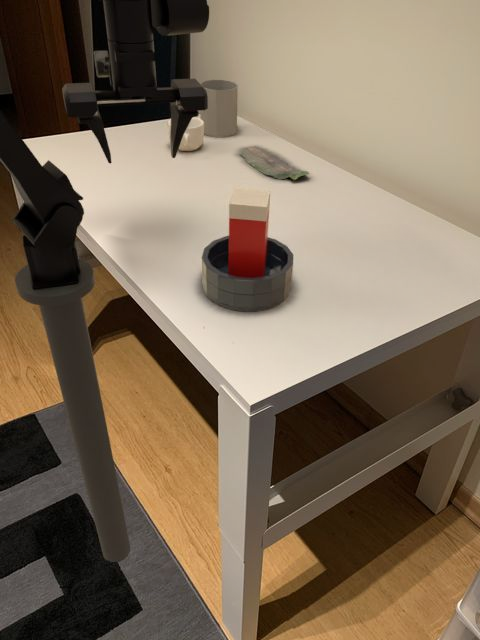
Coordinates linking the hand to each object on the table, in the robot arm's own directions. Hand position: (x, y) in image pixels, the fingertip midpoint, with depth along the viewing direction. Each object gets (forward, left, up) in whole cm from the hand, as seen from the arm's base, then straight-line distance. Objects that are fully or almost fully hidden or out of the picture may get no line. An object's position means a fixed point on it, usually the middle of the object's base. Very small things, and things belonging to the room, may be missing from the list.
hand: (141, 159), depth 81 cm
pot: (+11, -17, -13) cm, 24 cm away
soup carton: (+11, -17, -12) cm, 24 cm away
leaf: (+30, +25, -13) cm, 41 cm away
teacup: (+15, +37, -13) cm, 42 cm away
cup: (+25, +47, -13) cm, 55 cm away
